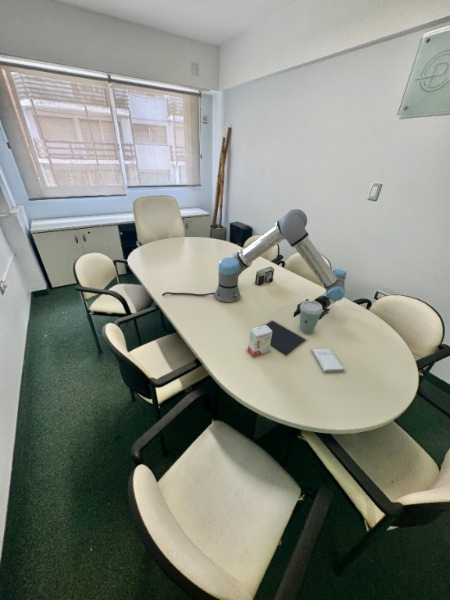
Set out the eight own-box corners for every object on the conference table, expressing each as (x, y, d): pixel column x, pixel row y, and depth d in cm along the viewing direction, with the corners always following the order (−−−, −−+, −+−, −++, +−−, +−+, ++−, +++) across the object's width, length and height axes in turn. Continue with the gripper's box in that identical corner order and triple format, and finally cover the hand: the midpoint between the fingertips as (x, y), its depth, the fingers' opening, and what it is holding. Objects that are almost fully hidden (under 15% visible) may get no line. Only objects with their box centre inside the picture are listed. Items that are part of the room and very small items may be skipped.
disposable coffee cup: (305, 338, 117) (312, 313, 109) (290, 326, 125) (295, 302, 117) (321, 332, 121) (328, 307, 114) (305, 321, 129) (311, 297, 122)
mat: (252, 333, 119) (252, 333, 119) (272, 321, 128) (272, 320, 128) (286, 355, 107) (286, 354, 106) (305, 340, 116) (305, 339, 116)
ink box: (253, 357, 105) (256, 336, 99) (247, 350, 109) (249, 329, 103) (269, 351, 108) (273, 330, 102) (263, 344, 112) (266, 324, 106)
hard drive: (324, 372, 99) (312, 351, 110) (343, 371, 100) (329, 350, 110) (325, 369, 98) (313, 348, 109) (344, 368, 99) (330, 347, 109)
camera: (263, 288, 160) (265, 274, 155) (254, 283, 165) (255, 270, 160) (277, 282, 168) (279, 269, 163) (268, 278, 173) (269, 265, 168)
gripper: (338, 315, 127) (315, 333, 114) (306, 300, 139) (282, 315, 125) (342, 303, 124) (319, 320, 110) (309, 289, 135) (285, 303, 121)
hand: (300, 317), depth 118 cm, fingers open, 6 cm apart
